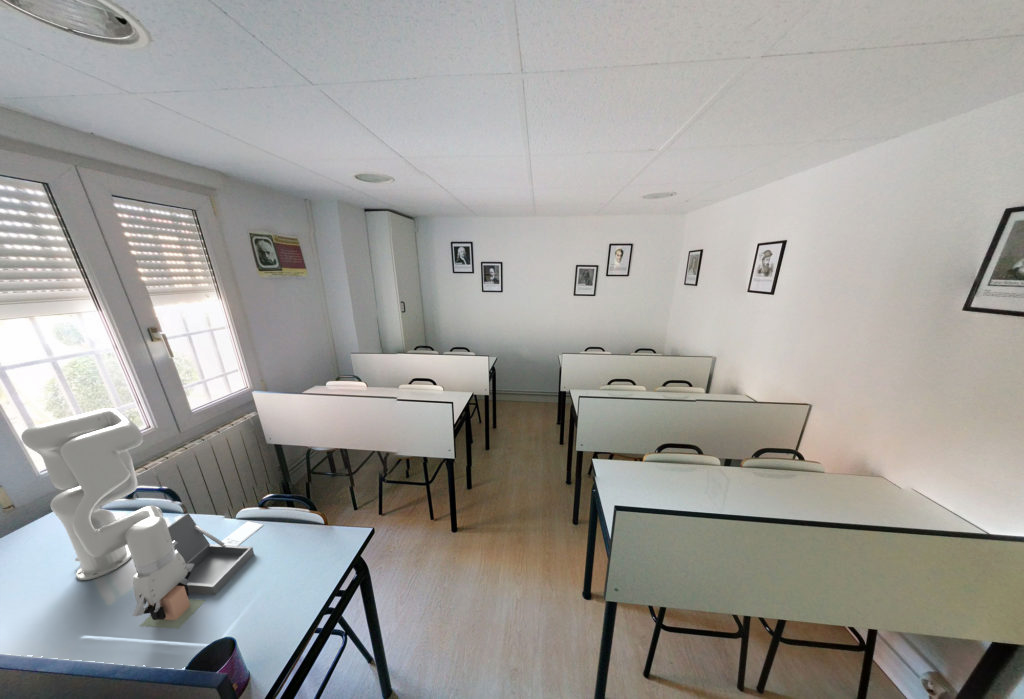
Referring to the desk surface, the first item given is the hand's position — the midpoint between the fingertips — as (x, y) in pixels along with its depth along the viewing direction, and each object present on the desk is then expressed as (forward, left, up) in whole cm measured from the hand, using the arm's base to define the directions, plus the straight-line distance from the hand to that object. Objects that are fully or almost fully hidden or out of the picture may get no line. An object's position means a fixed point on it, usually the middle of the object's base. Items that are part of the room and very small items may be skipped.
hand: (171, 606), depth 93 cm
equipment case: (-4, +13, -3) cm, 14 cm away
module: (0, 0, -3) cm, 3 cm away
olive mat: (0, 0, -3) cm, 3 cm away
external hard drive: (-5, +27, -4) cm, 28 cm away
